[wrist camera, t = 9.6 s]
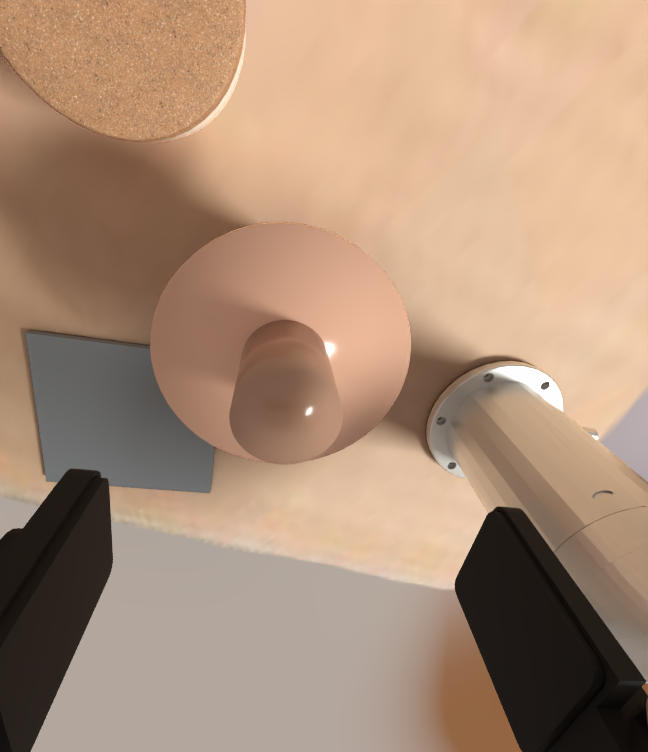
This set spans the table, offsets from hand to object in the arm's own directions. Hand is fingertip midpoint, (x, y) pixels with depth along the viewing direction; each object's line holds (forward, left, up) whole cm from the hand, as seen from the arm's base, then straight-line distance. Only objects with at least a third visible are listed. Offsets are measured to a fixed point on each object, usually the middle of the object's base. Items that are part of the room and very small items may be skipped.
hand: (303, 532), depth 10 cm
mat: (+11, +13, -23) cm, 28 cm away
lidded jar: (+9, -13, -23) cm, 28 cm away
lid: (0, 0, -11) cm, 11 cm away
